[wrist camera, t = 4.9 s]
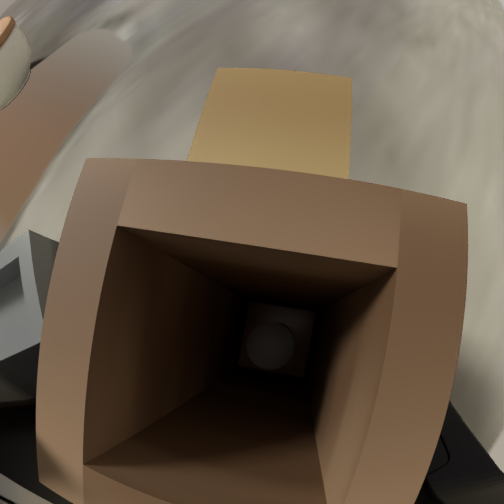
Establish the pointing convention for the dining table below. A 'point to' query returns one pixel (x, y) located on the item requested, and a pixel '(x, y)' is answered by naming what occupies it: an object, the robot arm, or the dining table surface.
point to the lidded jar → (12, 61)
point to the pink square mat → (276, 339)
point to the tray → (24, 290)
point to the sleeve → (235, 314)
